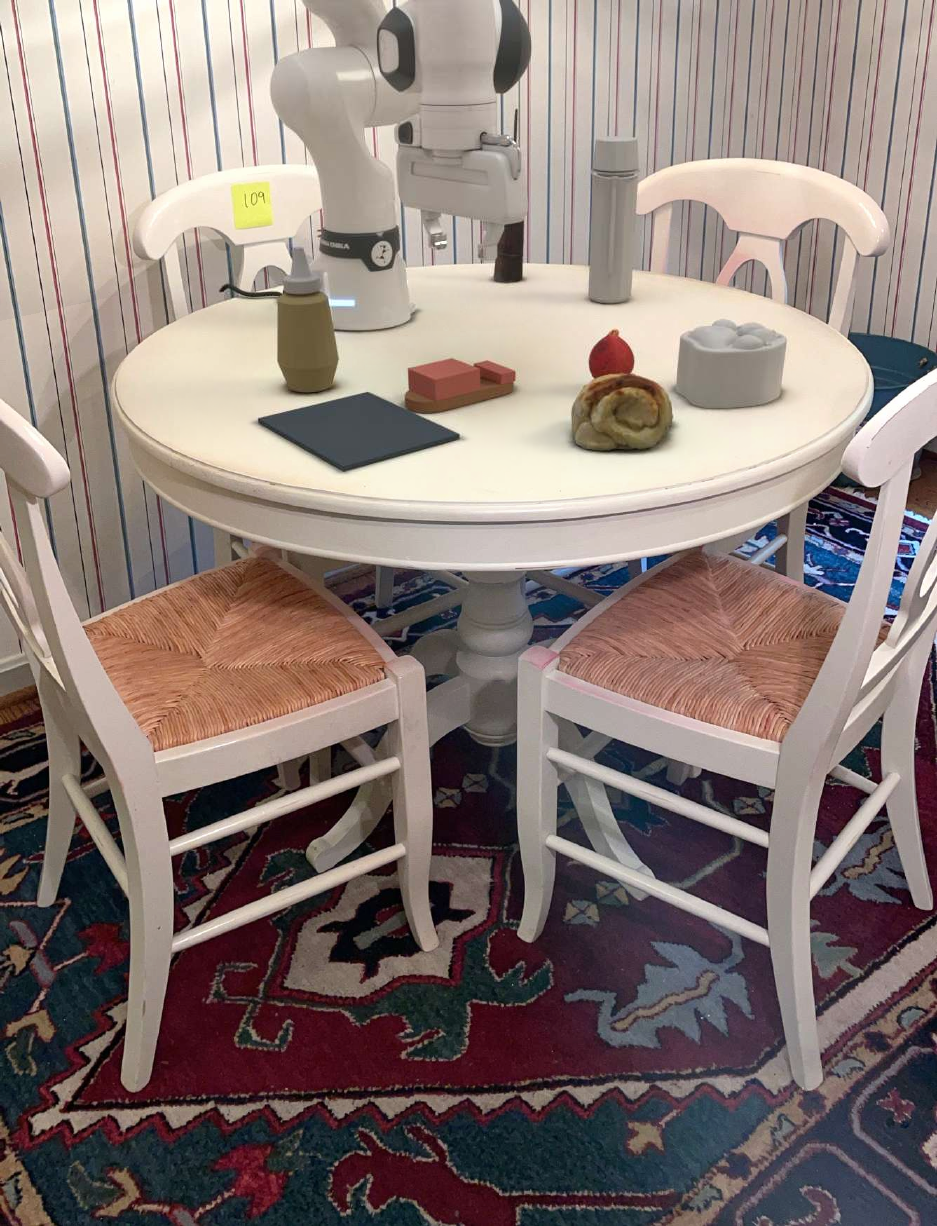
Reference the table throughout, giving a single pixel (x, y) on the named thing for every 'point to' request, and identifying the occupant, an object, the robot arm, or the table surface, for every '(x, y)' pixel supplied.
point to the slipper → (455, 384)
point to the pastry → (621, 413)
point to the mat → (357, 430)
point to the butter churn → (510, 245)
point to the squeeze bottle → (305, 330)
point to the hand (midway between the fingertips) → (462, 254)
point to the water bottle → (613, 218)
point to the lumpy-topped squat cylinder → (730, 365)
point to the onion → (611, 356)
